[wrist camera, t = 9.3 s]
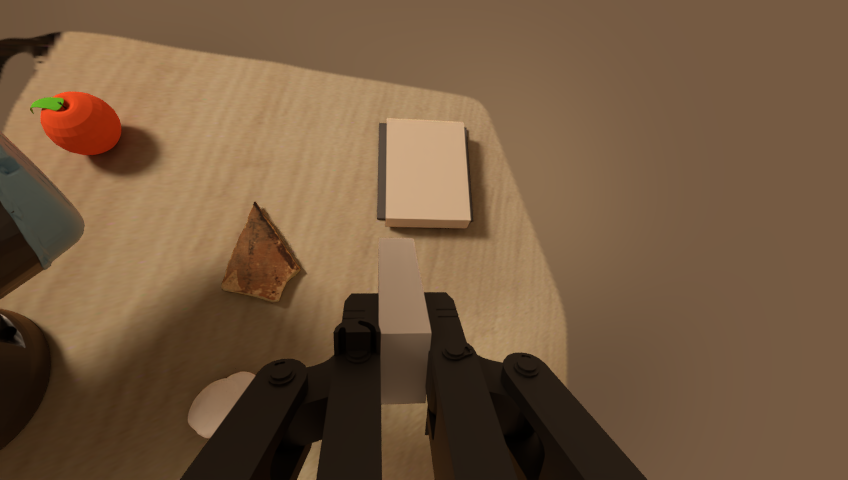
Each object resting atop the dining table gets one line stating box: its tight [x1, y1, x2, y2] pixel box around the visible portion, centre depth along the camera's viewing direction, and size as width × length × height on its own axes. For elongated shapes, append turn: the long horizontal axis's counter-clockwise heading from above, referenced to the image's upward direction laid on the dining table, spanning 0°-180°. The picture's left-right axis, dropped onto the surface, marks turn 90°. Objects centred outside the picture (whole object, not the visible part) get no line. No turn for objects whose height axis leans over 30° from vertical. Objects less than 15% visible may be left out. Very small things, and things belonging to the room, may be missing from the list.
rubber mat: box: [377, 123, 473, 222], centre depth 51 cm, size 12×14×1 cm
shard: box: [222, 202, 300, 302], centre depth 45 cm, size 11×8×2 cm
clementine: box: [30, 92, 122, 155], centre depth 44 cm, size 8×7×7 cm
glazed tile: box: [385, 118, 471, 228], centre depth 49 cm, size 10×3×14 cm
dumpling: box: [188, 368, 256, 438], centre depth 37 cm, size 7×5×4 cm
